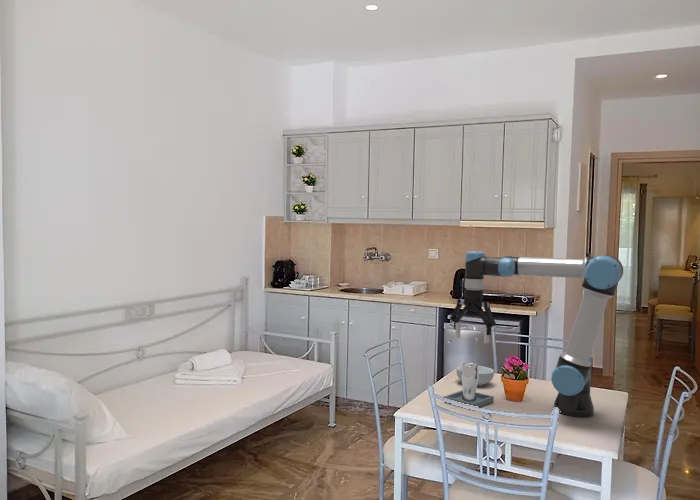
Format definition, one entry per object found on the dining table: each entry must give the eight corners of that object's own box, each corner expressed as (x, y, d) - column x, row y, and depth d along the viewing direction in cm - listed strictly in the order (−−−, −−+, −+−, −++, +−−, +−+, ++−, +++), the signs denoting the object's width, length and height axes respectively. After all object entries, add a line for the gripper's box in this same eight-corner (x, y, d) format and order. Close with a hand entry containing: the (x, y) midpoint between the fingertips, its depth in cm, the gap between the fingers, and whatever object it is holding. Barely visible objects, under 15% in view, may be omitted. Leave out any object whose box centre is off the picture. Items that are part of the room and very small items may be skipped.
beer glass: (479, 403, 248) (480, 366, 248) (461, 402, 248) (463, 366, 248) (475, 398, 255) (477, 363, 255) (459, 397, 255) (460, 362, 255)
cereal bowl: (498, 383, 284) (499, 368, 284) (486, 391, 270) (486, 375, 270) (463, 377, 293) (464, 362, 293) (450, 384, 279) (451, 369, 279)
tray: (493, 402, 253) (493, 396, 253) (473, 410, 241) (473, 404, 241) (464, 395, 262) (464, 389, 262) (443, 402, 251) (443, 396, 251)
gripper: (505, 291, 244) (503, 343, 245) (452, 285, 261) (451, 334, 262) (496, 292, 239) (494, 346, 239) (443, 286, 255) (441, 336, 256)
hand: (471, 340), depth 251 cm, fingers open, 13 cm apart
